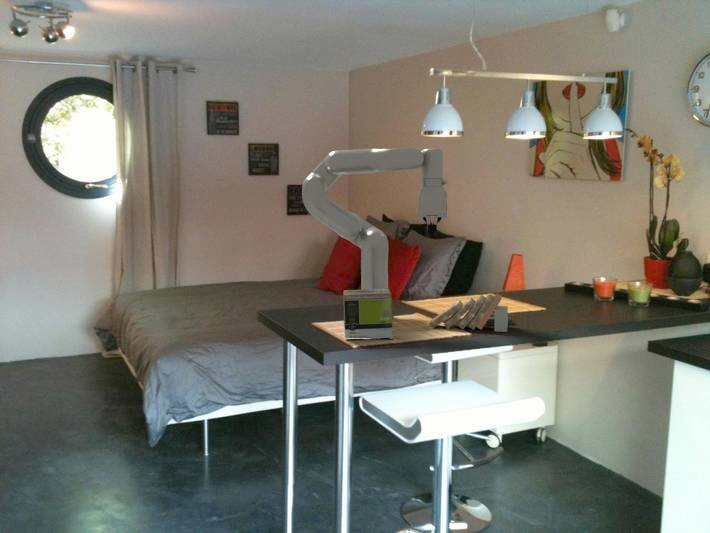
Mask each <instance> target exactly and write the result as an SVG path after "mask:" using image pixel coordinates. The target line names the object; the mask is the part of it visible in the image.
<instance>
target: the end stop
mask: <svg viewBox="0 0 710 533" xmlns="http://www.w3.org/2000/svg"><path fill="white" fill-rule="evenodd" d="M508 310H509V306H508V305H497V307H496V308H495V310H494V311H495V324H494V325H493V326H494V332H503V333H505V332H508V326H509V325H508V314H509V311H508Z"/></svg>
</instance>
